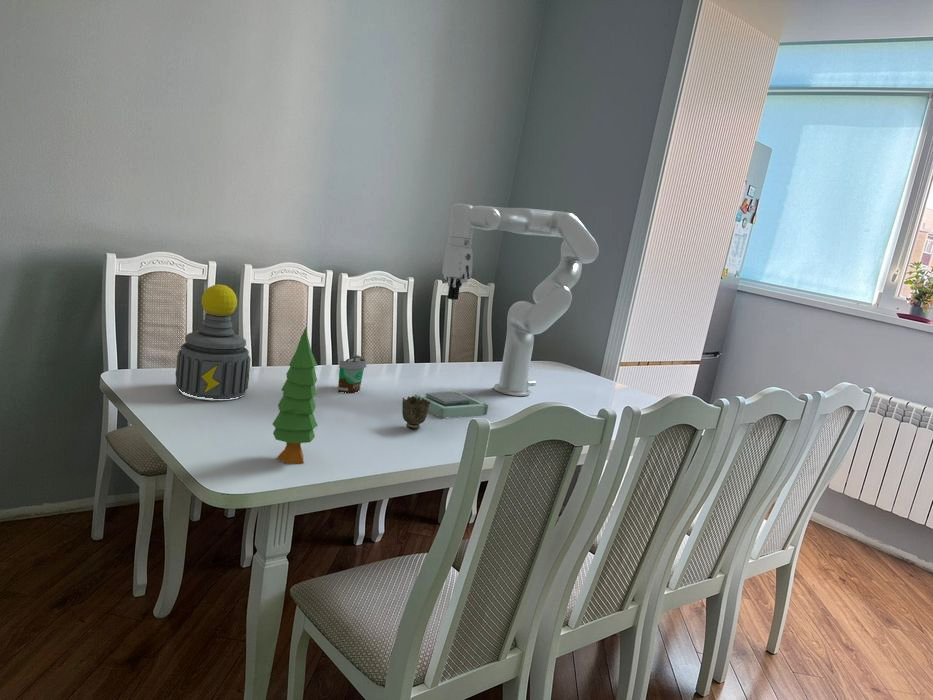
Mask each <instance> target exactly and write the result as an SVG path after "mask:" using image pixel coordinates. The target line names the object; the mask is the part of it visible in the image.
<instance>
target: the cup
mask: <svg viewBox="0 0 933 700" xmlns="http://www.w3.org/2000/svg"><path fill="white" fill-rule="evenodd" d="M401 406H402V409H401V411H402V412H401V413H402V414H401V415H402V418H403V420H404V421H405V422H406V424H405V426H406V428H407V429H409V430H412V431H417V430H420V427H421V426H420V425H421V424H423V423H424V422H425V421H426V418H427V416H428V413H429V411H428V410H429V406H430V402H429V401H428V402H427V399H425V400H424V398H423V399H422V400H421V401H420V397H419V398H418V399H417V398H415V397H414V395H413V396H407V397H406V399H405V397H402V405H401Z"/></svg>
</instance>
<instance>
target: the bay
mask: <svg viewBox="0 0 933 700" xmlns="http://www.w3.org/2000/svg"><path fill="white" fill-rule="evenodd" d="M453 392H454V393H456V394H459V395H461V396H463V397H466V398H468V399H470V402H469V405H460V406H447V407H445V406H443V405H440V404H438V403H436V402H434V401H432V400H430V399H428V398H426V396H424V395H422V394H420V393H416V394H415V393H414V394H413V396H414V397H415V398H417V399H418V398H419V397H420V401H421V400H422V399H423V398H424V400H425V399H427V402H428V401H429V402H430V406H429V410H428V413H431V414H433V415H435V416H437V417H439V416H440V417H439V418H441V417H442V418H441V419H447V418H446V417H454V418H460V417H459V416H466V417H475V415H477V416H487V415H488V411H489V410H488V408H489V404H486V403H484V402H482V401H479V400H477V399H475V398H473V397H471V396H469V395H467V394H464V393H462V392H460V391H453ZM486 414H487V415H486Z"/></svg>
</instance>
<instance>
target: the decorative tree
mask: <svg viewBox="0 0 933 700" xmlns="http://www.w3.org/2000/svg"><path fill="white" fill-rule="evenodd" d="M288 365H289V369H288V370H287V372H286V373H285V374H286V380H285V382H284V384H283V385H282V387H281V389H280V390H281V391H282V397H281V398H280V400H279V401H278V404H277V407H278V410H279V411H278V414H277V416H276V417H275V419H274V421H273V423H272V426H274V428H275V429H274V431H273V432H272V434H273V436H274V437H273V438H274V439H275V440H277V441H280V442H285V443H286V446H285V448H284V449H283V450H282V451H281V453H279V455H277V457H278V458H277V460H279V459H280V460H279V462H281V461H283V462H282V463H284V462H286V463H285V464H287V463H290V464H289V465H292V464H291V463H293V465H294V464H295V465H296V464H297V465H300V464H305V461H304V453H303V449H302V445H301V444H307V443H312V441H313V440H314V438H316V435H315V431H314V429H315V428H316V427H318V423H317V420H316V417H315V415H314V412H315V409H316V408H317V406H316V403H315V400H314V397H316V396H317V389H316V383H317V381H318V379H317V378H318V377H317V373H316V369H315V367H317V366H318V363H317V361H316V359H315V356H314V353H313V351H312V347H311V344H310V340H309V336H308V330H307V326H305V328H304V330H303V332H302V334H301V336H300V340H299V342H298V344H297V347H296V351H295V352H294V354H293V356H292V357H291V360H290V361H289V364H288Z"/></svg>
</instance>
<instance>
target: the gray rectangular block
mask: <svg viewBox="0 0 933 700" xmlns="http://www.w3.org/2000/svg"><path fill="white" fill-rule="evenodd" d="M454 392H455V391H441V392H439V391H437V392H429V393H428V392H427V393H426V394H425V397H426V398H428V399H430V400H432V401H434V402H436V403H438V404H440V405H443V406H445V407H447V406H460V405H469V402H470V399H468V398H466V397H463V396H461V395H459V394H456V393H454Z"/></svg>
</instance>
